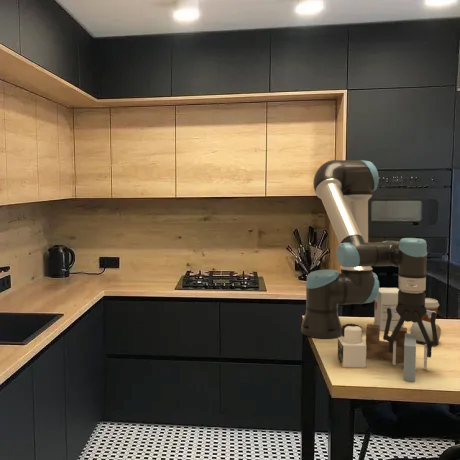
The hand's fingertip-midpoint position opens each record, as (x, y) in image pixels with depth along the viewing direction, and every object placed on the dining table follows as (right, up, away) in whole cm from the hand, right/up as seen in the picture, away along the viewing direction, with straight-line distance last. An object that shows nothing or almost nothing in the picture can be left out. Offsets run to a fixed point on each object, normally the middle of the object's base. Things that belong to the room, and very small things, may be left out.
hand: (409, 365), depth 135 cm
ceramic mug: (+16, +1, +24) cm, 29 cm away
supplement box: (+8, +2, +40) cm, 41 cm away
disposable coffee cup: (+20, +2, +36) cm, 41 cm away
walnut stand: (-4, 0, +8) cm, 9 cm away
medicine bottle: (-17, -1, +4) cm, 17 cm away
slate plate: (-2, -1, -4) cm, 5 cm away
